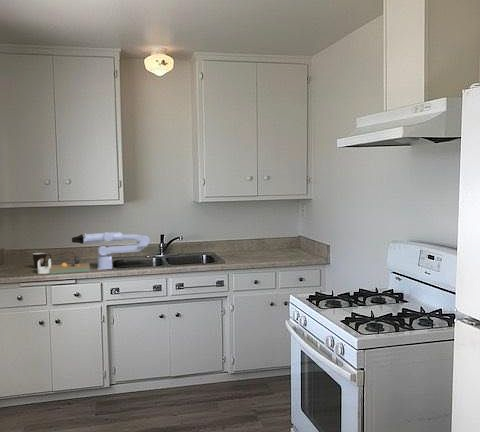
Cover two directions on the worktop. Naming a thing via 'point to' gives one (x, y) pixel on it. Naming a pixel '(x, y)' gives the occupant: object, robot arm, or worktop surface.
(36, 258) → the coffee mug
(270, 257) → the worktop surface
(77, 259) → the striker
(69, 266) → the pitch
